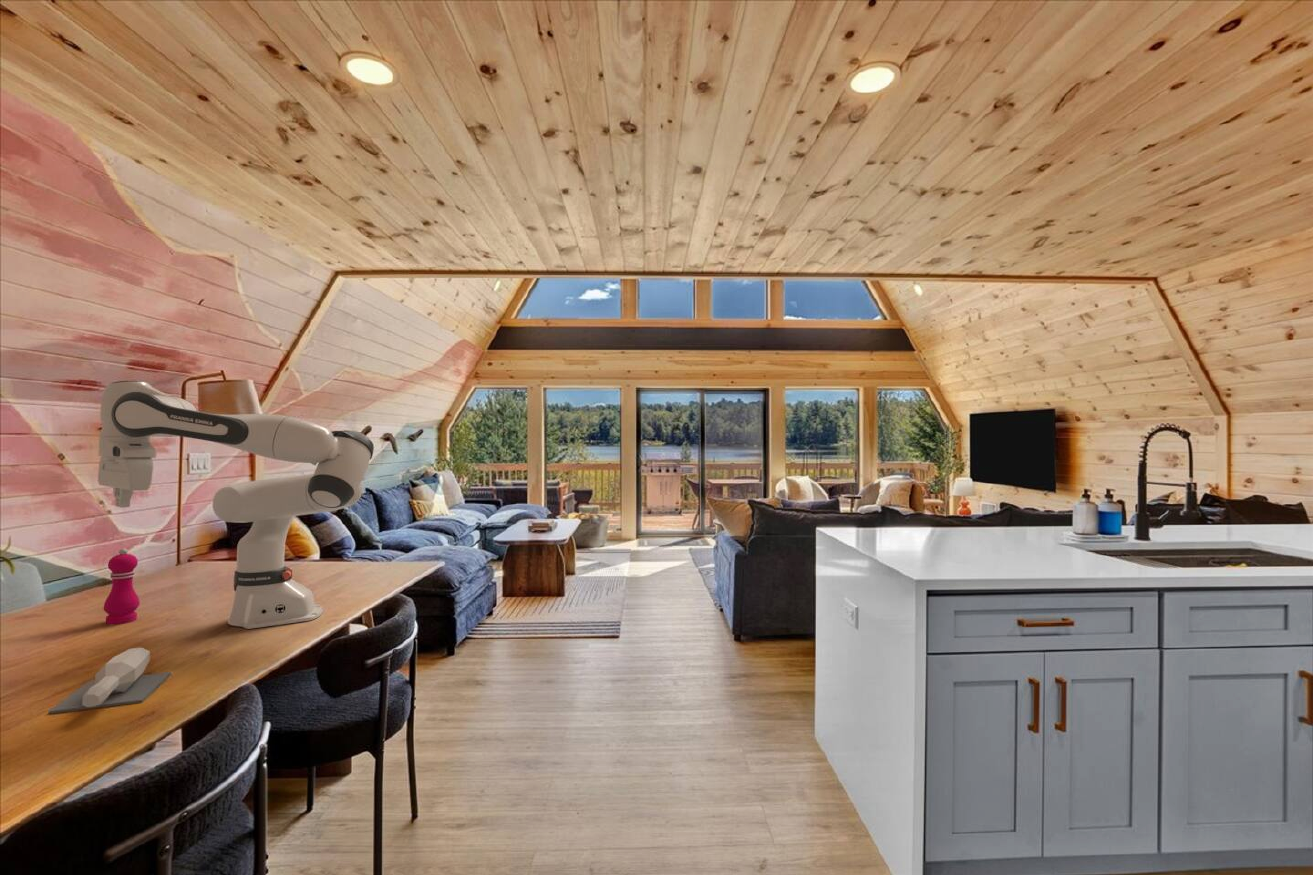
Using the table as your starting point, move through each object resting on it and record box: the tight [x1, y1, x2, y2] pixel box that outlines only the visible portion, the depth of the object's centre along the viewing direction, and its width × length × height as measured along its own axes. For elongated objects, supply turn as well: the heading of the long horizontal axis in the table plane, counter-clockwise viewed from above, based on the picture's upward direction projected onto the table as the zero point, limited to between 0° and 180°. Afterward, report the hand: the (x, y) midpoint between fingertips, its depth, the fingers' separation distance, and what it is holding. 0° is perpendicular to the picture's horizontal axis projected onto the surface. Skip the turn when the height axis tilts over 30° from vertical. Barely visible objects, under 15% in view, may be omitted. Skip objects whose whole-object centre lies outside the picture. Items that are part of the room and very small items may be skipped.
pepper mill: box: [103, 548, 141, 626], centre depth 156 cm, size 7×7×20 cm
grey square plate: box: [48, 671, 172, 715], centre depth 113 cm, size 14×14×1 cm
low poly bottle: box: [82, 647, 151, 707], centre depth 112 cm, size 6×6×22 cm
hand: (122, 507), depth 134 cm, fingers closed
